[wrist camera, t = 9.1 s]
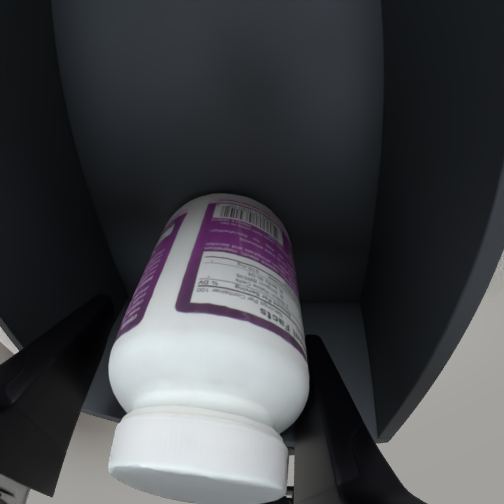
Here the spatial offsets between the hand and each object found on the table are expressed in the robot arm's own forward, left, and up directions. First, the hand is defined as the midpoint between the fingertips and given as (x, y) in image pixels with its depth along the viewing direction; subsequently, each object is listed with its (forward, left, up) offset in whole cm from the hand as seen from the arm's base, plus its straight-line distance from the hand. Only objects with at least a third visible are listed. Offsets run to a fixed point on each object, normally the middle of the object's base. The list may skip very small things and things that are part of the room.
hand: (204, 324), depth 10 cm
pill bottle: (0, 0, -4) cm, 4 cm away
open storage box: (+7, -4, -5) cm, 9 cm away
